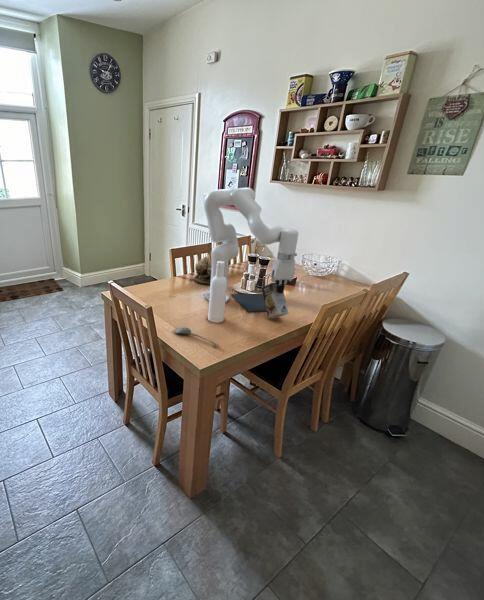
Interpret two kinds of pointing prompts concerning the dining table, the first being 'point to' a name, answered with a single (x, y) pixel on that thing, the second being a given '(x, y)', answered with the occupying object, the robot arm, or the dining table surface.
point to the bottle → (217, 295)
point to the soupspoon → (188, 331)
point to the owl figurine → (203, 271)
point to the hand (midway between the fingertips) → (279, 292)
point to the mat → (251, 301)
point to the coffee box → (274, 301)
